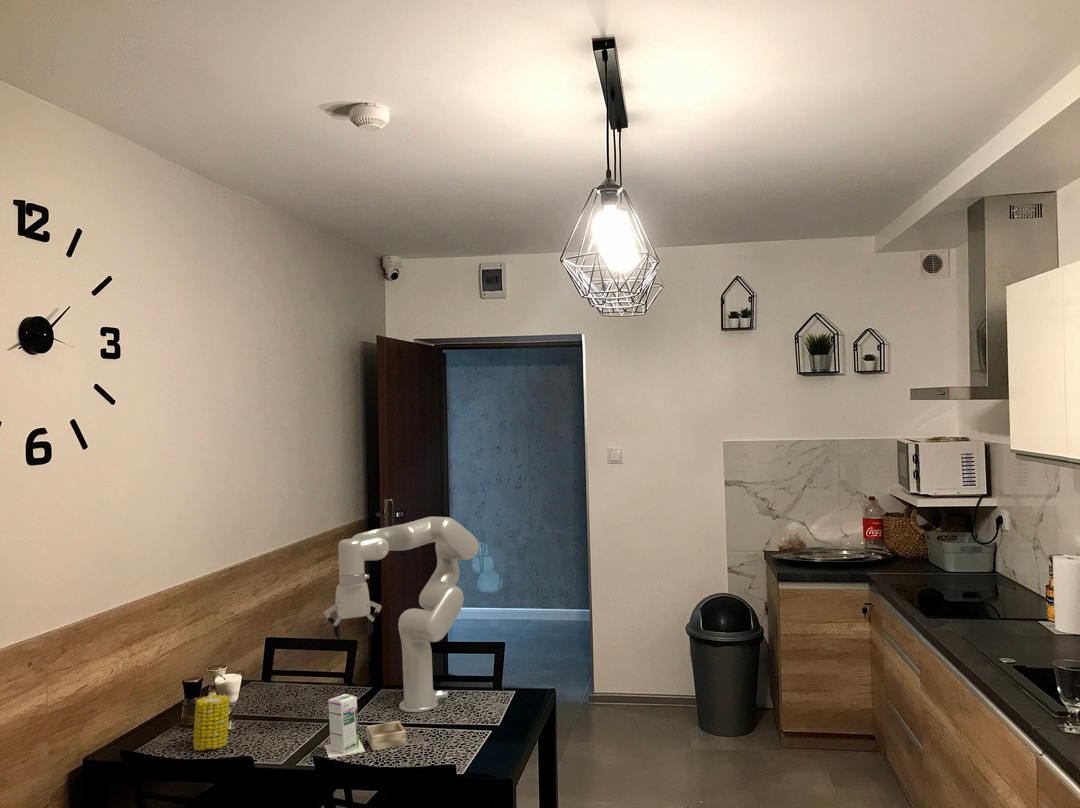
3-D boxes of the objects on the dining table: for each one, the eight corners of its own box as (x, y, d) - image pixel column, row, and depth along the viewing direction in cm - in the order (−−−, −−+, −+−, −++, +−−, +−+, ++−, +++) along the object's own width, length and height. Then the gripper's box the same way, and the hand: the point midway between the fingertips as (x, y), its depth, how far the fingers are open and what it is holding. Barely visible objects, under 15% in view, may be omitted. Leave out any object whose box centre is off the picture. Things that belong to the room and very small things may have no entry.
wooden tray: (399, 734, 248) (398, 720, 248) (406, 745, 239) (406, 731, 239) (367, 740, 244) (366, 726, 244) (372, 751, 235) (372, 737, 235)
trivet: (359, 741, 243) (359, 739, 243) (365, 753, 234) (365, 750, 234) (324, 747, 240) (324, 745, 240) (328, 759, 230) (328, 757, 230)
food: (187, 755, 242) (217, 745, 250) (213, 752, 236) (242, 742, 245) (180, 702, 245) (210, 693, 253) (206, 697, 239) (235, 689, 247)
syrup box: (343, 754, 232) (342, 701, 233) (329, 750, 236) (328, 698, 236) (359, 747, 237) (357, 696, 237) (345, 743, 240) (343, 692, 241)
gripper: (378, 575, 261) (379, 629, 261) (321, 580, 255) (323, 637, 254) (382, 578, 254) (384, 635, 254) (324, 584, 248) (326, 642, 247)
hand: (353, 636), depth 254 cm, fingers open, 9 cm apart
